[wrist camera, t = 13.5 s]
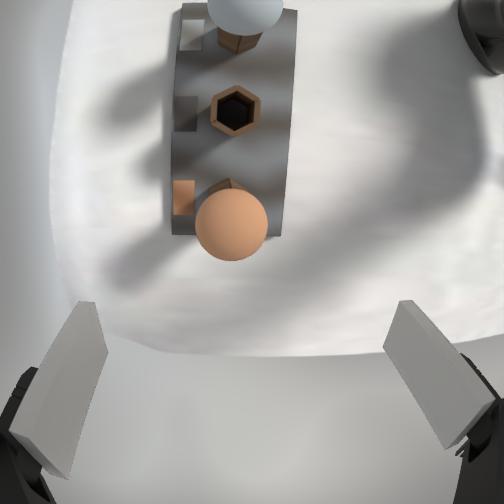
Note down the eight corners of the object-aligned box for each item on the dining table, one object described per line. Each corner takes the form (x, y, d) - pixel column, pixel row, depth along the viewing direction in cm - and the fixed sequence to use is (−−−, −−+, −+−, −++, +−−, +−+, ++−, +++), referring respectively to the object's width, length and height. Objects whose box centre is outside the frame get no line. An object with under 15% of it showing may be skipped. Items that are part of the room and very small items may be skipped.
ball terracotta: (197, 181, 26) (192, 197, 20) (264, 183, 27) (277, 199, 21) (197, 244, 28) (193, 273, 23) (259, 245, 29) (270, 274, 23)
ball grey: (211, -11, 18) (210, -41, 13) (277, -6, 19) (291, -34, 14) (205, 42, 21) (202, 20, 15) (274, 46, 21) (289, 26, 16)
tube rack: (183, 6, 24) (175, -23, 17) (295, 13, 26) (315, -13, 18) (173, 231, 35) (162, 259, 28) (279, 233, 37) (294, 261, 30)
